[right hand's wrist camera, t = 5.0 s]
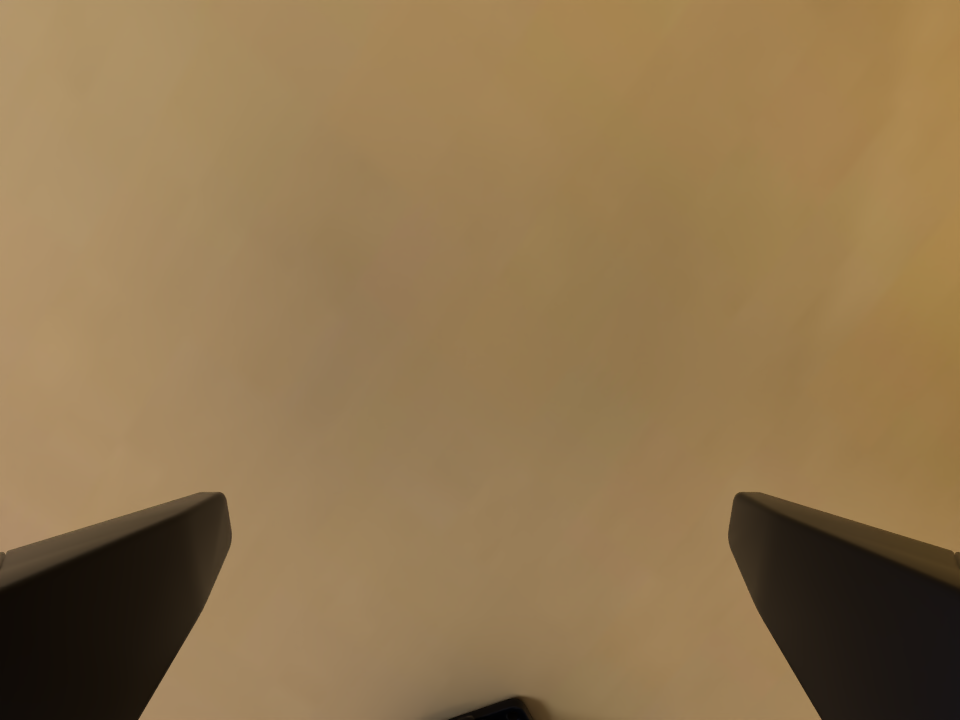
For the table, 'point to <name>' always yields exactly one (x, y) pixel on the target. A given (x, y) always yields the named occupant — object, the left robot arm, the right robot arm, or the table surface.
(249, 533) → the table surface
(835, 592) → the right robot arm
